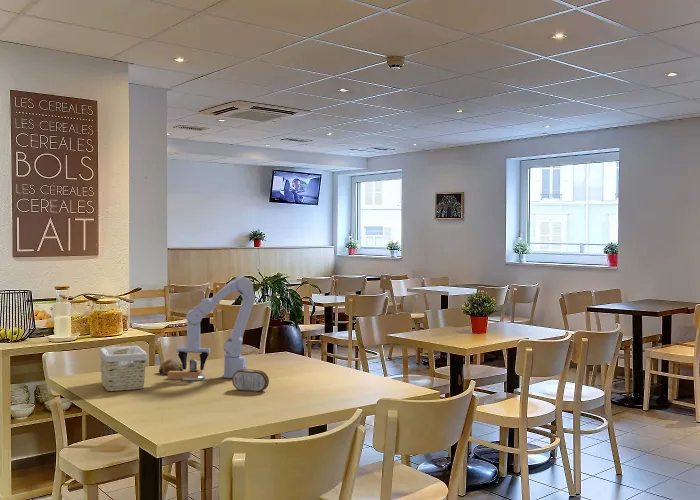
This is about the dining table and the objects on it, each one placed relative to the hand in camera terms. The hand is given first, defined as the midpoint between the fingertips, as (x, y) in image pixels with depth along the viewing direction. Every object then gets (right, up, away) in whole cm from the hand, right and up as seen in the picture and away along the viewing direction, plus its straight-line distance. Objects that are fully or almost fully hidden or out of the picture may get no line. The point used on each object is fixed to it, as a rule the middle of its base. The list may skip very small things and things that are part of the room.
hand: (193, 369), depth 285 cm
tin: (+28, -5, -22) cm, 36 cm away
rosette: (0, -4, 0) cm, 4 cm away
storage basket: (-26, -4, -14) cm, 30 cm away
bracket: (-4, -4, 0) cm, 6 cm away
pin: (0, -3, 0) cm, 3 cm away
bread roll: (-13, -4, +13) cm, 19 cm away
